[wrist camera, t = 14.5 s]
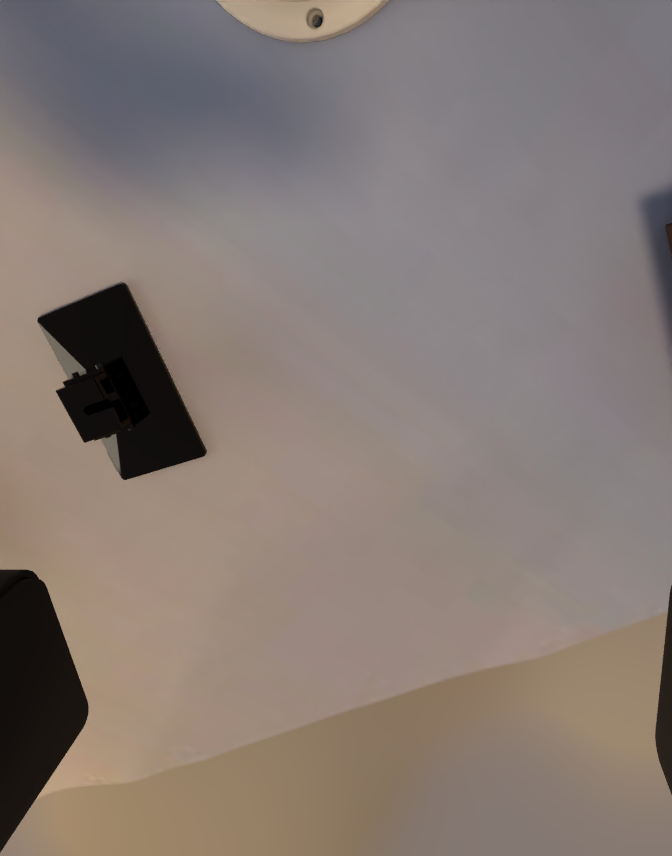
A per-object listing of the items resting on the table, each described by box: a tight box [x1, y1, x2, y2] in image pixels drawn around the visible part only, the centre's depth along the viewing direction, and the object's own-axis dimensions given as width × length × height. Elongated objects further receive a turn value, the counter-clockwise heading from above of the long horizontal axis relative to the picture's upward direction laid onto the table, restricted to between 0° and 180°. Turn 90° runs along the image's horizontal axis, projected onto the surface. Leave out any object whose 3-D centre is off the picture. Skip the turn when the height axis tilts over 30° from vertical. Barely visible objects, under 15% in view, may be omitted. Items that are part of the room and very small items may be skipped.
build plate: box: [38, 283, 207, 480], centre depth 38 cm, size 12×7×5 cm, turn 21°
